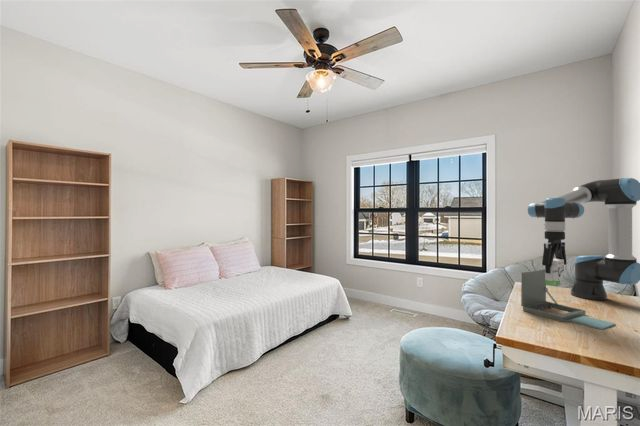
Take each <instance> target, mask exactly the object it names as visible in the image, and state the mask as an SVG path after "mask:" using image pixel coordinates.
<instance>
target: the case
mask: <svg viewBox="0 0 640 426" xmlns="http://www.w3.org/2000/svg"><path fill="white" fill-rule="evenodd" d="M520 285H521V287H520V289H521V290H520V291H521V295H520V296H521V297H520V299H521V300H520V302H521V304H520V305H521V307H522V311H523V312H525V313H526V312H527V313H530V314H533V315H537V316H541V317H544V318H548V319H551V320H555V321H558V322H562V323H563V322H566V321H569V319H572V318H575V317H579V316H582V315H583V316H586V310H585V309H580V308H577V307H572V306H568V305H565V304H559V303H558V302H557V301H556V299H555V298H554V297H553V296H552V294H551V293H550V292H549V288H548V287H547V285H545V268H543V269H537V270H530V271H529V270H528V271H522V272H521V284H520ZM547 295H548V296H549V297H550V299H551V300H552V302H551V301H548V300H547ZM547 308H554V309H558V310H561V311H565V312H567V313H563V314H560V315H558V314H554V313H552V312H547V311H543V310H542V309H547Z"/></svg>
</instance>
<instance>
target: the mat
mask: <svg viewBox="0 0 640 426" xmlns="http://www.w3.org/2000/svg"><path fill="white" fill-rule="evenodd" d="M568 321H569V322H572V323H576V324H579V325H584V326H586V327H590V328H594V329H596V330H597V329H598V330H601V331H603V330H606V329H608V328H611V327H613V326H616V323H614V322H610V321H606V320H602V319H600V318H599V319H598V318H595V317H591V316H587V315H584V316H583V315H582V316H579V317H575V318H572V319H569V320H568Z"/></svg>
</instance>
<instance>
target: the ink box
mask: <svg viewBox="0 0 640 426" xmlns="http://www.w3.org/2000/svg"><path fill="white" fill-rule="evenodd" d="M552 266H553V281H549V280H545V285H546V286H551V287H560V286H562V285H565V265H564V260H563V259H556V257H555V258H553V262H552Z"/></svg>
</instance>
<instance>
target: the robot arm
mask: <svg viewBox="0 0 640 426" xmlns="http://www.w3.org/2000/svg"><path fill="white" fill-rule="evenodd" d="M639 201H640V181H639V180H638V179H636V178H635V177H634V178H633V177H622V178H613V179H611V178H610V179H601V180H600V179H599V180H594V181H590V182H587V183H584V184H582V185H578V186H576V187H574V188H573V189H572V190H571V191H567V192H565V193H563V194H561V195H558V196H556V197H547V198H545V200H544V201H542V202H533V203H530V204H529V205H528V206H527V213H528V215H529V216H530V217H532V218H537V219H538V218H543V219H544V223H543V225H544V230H545V231H544V239H545V240H547V243H545V242H544V243H543V252H542V253H543V254H542V260H541V264H542V266H544V269H545V280H549V281H553V266H552V262H553V258H554V257H555V259H563V260H564V266H565V265H567V255H566V242H563V241H564V240H565V239H566V232H565V230H566V219H577V218H580V217H582V216H583V215H584V213H585V207H584V205H583V204H586V203H593V202H596V203H597V202H600V203H601V202H604V206H606V207H607V209H608V253H607V254H606V255H605V256H603V255H577V256H576V257H575V261H574V265H575V266H574V282H573V285H572V287H571V290H570V294H571V296H574V297H577V298H580V299H585V300H593V301H607V300H608V294H607V291H606V289H605V287H604V282H610V283H616V284H621V285H627V286H633V285H634V286H635V285H636V284H638V283H639V282H640V262H638V261H637V258H636V257H635V256H634V255H633V208H634V207H635V206H636V205H637V202H639Z"/></svg>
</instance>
